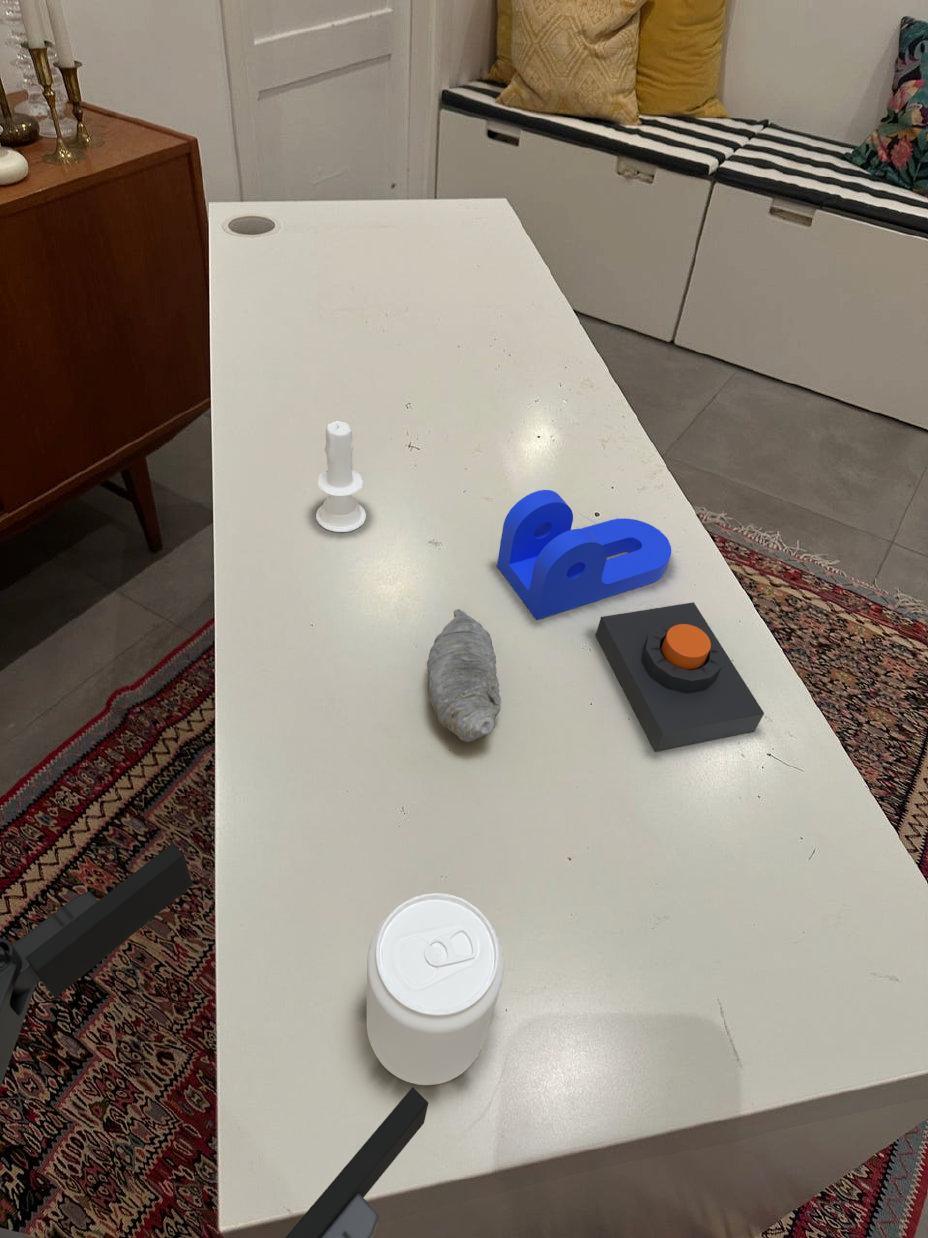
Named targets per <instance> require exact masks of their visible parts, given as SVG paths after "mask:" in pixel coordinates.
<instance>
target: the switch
mask: <svg viewBox="0 0 928 1238" xmlns="http://www.w3.org/2000/svg"><path fill="white" fill-rule="evenodd" d="M710 648H711V642H710V639H709V637H708V636H707V635H706V633H705V632H703V631H702V630H701V629H699V628H697V627H695V626H692V625H688V624H679V625H675V626H673V627H671V628H670V629H669V630H668V632H667V634H666V637H665V640H664V642H663V645H662V653H663V655H664V657H665V658H666V660H667V661H668V662H670V663H671V664H673V665H674V666H676V667H679V668H683V669H687V670H691V669H696V668H698V667H700V666H702V665H703V663H704V662H705V660H706V657H707V655H708V653H709V651H710Z"/></svg>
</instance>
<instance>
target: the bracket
mask: <svg viewBox="0 0 928 1238" xmlns="http://www.w3.org/2000/svg"><path fill="white" fill-rule="evenodd" d="M573 522H574V513H573V510H572V508H571V507H570V506H569V504H568V503H566V501H565V500H564V499H563V498H562V496H561V495H560V494H559V493H558V492H556V491H554V490H551V489H540V490H537V491H534V492H531V493H528V494H527V495H525V496H523V497H522V498H521V499H520V500H518V501H516V503H515V504H514V505H513V506H512V507H511V508H510V509H509V511H508V513H507V514H506V515H505V518H504V521H503V525H502V531H501V537H500V544H499V550H498V555H497V562H496V567H497V569H498V570H499V572H500V573H501V574H502V576H503V577H504V578H505V580H506V581H507V582H508V584H509V585H510V586H511V588H512V589H513V590H514V592H515V593H516V595H517V596H518V597H519V599H520V600H521V601H522V603H523V604H524V605H525V607H526V608H527V609H528V611H529V612H530V614H531V615H532V617H533V618H534V619H535V620H536V621H538V620H541V619H545V618H548V617H551V616H554V615H557V614H560V613H563V612H567V611H570V610H573V609H576V608H579V607H581V606H585V605H588V604H591V603H595V602H597V601H600V600H604V599H607V598H610V597H614V596H616V595H619V594H623V593H625V592H629V591H632V590H635V589H638V588H641V587H644V586H647V585H651V584H653V583H655V582H657V581H658V580H660V579H661V578H663V576H664V574H665V573H666V570H667V567H668V564H669V561H670V559H671V556H672V545H671V543H670V541H669V539H668V538H667V536H666V535H665V534H664V533H663V532H662V531H661V530H660V529H658V527H655V526H654V525H652V524H649V523H647V522H644V521H642V520H639V519H635V518H626V517H625V518H623V517H622V518H614V519H613V518H612V519H610V520H606V521H602V522H598V523H595V524H591V525H588V526H585V527H581V528H573V529H572V526H573ZM622 553H623V554H622ZM618 554H620V555H618ZM615 555H617V556H615ZM611 556H614V557H611ZM608 557H610V558H608Z"/></svg>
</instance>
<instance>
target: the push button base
mask: <svg viewBox="0 0 928 1238" xmlns="http://www.w3.org/2000/svg"><path fill="white" fill-rule="evenodd" d="M679 624H688V625H692V626H695V627H697V628H699V629H701V630H702V631H703V632H705V633H706V635H707V636H708V637H709V639H710V642H711V648H710V651H709V653H708V655H707V657H706V660H705V662H704V663H703V665H702V666H700V667H698V668H696V669H691V670H687V669H683V668H679V667H676V666H674V665H673V664H671V663H670V662H668V661H667V660H666V658H665V657H664V655H663V653H662V645H663V642H664V640H665V637H666V634H667V632H668V630H669V629H670V628H671V627H673V626H675V625H679ZM595 637H596V639H597V642H598V643H599V645H600V647H601V649H602V651H603V653H604V655H605V657H606V659H607V660H608V663H609V664H610V666H611V668H612V670H613V673H614V674H615V676H616V678H617V681H618V682H619V684H620V686H621V688H622V690H623V693H625V696H626V698H627V699H628V701H629V703H630V705H631V708H632V709H633V712H634V713H635V715H636V717H637V720H638V721H639V723H640V725H641V728H642V729H643V731H644V732H645V734H646V737H647V739H648V740H649V742H650V744H651V747H652V749H653V750H654V752H659V751H664V750H669V749H673V748H679V747H683V746H689V745H693V744H698V743H703V742H708V741H709V742H710V741H713V740H717V739H723V738H728V737H732V736H738V735H743V734H748V733H752V732H755V731H756V729H757V727H758V726H759V724H760V722H761V720H762V718H763V717H764V715H765V712H764V711H763V709H762V707H761V706H760V704H759V703H758V700H757V699H756V698H755V696H754V694H753V693H752V691H751V690H750V688H749V687H748V685H747V683H746V682H745V680H744V679H743V677H742V675H741V674H740V673H739V671H738V669H737V668H736V666H735V664H734V663H733V662H732V660H731V658H730V657H729V655H728V654H727V651H726V650H725V649H724V647H723V646H722V644H721V643H720V641H719V639H718V638H717V637H716V635H715V633H714V632H713V630H712V628H711V626H710V625H709V624H708V622H707V620H706V619H705V618H704V616H703V614H702V613H701V611H700V610H699V608H698V607H697V605H696V603H695V601H693V602H686V603H681V604H680V603H679V604H673V605H668V606H661V607H656V608H655V607H654V608H647V609H642V610H636V611H629V612H623V613H615V614H611V615H604V616H600V619H599V623H598V626H597V629H596V633H595Z"/></svg>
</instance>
